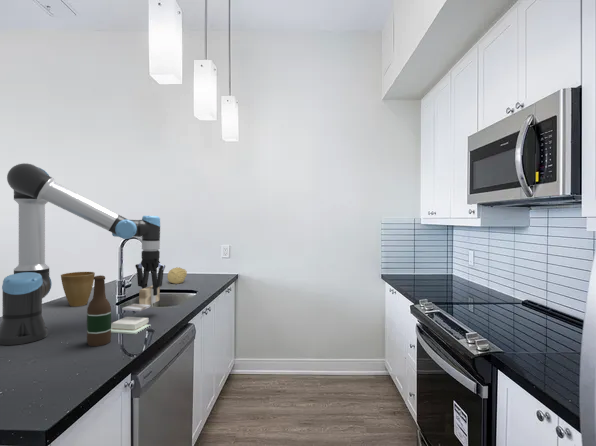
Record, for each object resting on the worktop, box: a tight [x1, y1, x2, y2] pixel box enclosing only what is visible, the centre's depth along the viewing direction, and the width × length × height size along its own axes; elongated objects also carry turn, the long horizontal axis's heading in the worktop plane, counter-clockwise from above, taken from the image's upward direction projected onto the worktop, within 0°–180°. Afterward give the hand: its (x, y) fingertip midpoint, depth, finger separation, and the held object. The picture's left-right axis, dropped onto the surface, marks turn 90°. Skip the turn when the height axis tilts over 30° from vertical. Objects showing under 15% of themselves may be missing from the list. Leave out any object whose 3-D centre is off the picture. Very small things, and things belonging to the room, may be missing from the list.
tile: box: [111, 316, 149, 330], centre depth 152 cm, size 2×10×10 cm
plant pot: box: [60, 271, 96, 308], centre depth 188 cm, size 15×15×16 cm
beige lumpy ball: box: [167, 266, 188, 285], centre depth 256 cm, size 11×12×11 cm
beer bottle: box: [86, 274, 112, 347], centre depth 133 cm, size 8×8×24 cm
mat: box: [111, 323, 152, 335], centre depth 150 cm, size 11×14×1 cm
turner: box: [121, 285, 161, 312], centre depth 162 cm, size 20×8×7 cm, turn 172°
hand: (149, 302), depth 166 cm, fingers closed on turner, 3 cm apart
